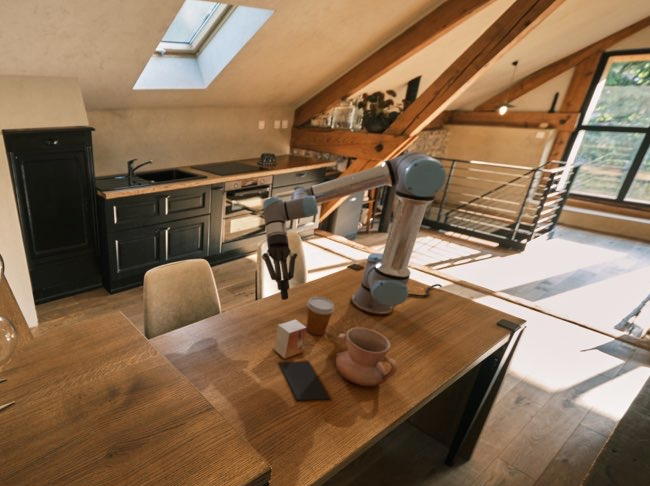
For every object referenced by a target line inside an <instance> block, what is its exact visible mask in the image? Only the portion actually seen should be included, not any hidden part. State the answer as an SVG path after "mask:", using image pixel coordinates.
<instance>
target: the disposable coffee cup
mask: <svg viewBox="0 0 650 486" xmlns="http://www.w3.org/2000/svg"><path fill="white" fill-rule="evenodd" d="M306 302H307V303H306V305H307V316H306V317H307V318H306V327H307V329H306V331H307V332H309V333H310V334H312V335H315V336H323V335H324V334H325V332H326V330H327V327H328V324H329V321H330V319H331V317H332V315H333V313H334V311H335V305H334V303H333V302H332V301H331V300H330V299H328V298H325V297H321V296H312V297H311V298H309V300H308V301H306Z"/></svg>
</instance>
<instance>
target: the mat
mask: <svg viewBox="0 0 650 486" xmlns="http://www.w3.org/2000/svg"><path fill="white" fill-rule="evenodd" d="M278 364H279V366H280V368H281V370H282V372H283V374H284V376H285V379H286V381H287V383H288V385H289V388H290V389H291V391H292V393H293V395H294V397H295V400H296V401H319V400H320V401H321V400H331V398H330V396H329V394H328V392H327V390H326V389H325V387H324V386H323V384H322V382H321V380H320V379H319V377H318V375H317V373H316V372H315V370H314V368H313V367H312V365H311V363H310V362H309V361H294V362H293V361H292V362H291V361H288V362H279V363H278Z"/></svg>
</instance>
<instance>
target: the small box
mask: <svg viewBox="0 0 650 486" xmlns="http://www.w3.org/2000/svg"><path fill="white" fill-rule="evenodd" d="M306 333H307V326H306V325H304V324H303V323H301V322H300V321H299V320H297V319H293V320H290V321H287V322H283V323H280V324H277V330H276V335H275V341H274V347H273V351H275V352H276V353H277V354H278V355H280V356H281V357H282V358H283V359H288V358H290V357H293V356H296V355H300V354H301V353H303V348H304V344H305V338H306Z"/></svg>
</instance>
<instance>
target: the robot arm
mask: <svg viewBox="0 0 650 486" xmlns="http://www.w3.org/2000/svg"><path fill="white" fill-rule="evenodd" d="M446 181H447V171H446V169H445V166H444V165H443V164H442V163H441V162H440V161H439V160H438V159H436V158H434V157H431V156H430V155H429V154H427V153H424V152H419V151H418V152H417V151H416V152H409V153H405V154H401V155H398V156H396V157H392V158H391V159H387V160H384V161H382V163H381V164H380V165H376V166H374V167H370V168H367V169H364V170H361V171H358V172H353V173H351V174H348V175H344V176H340V177H338V178H335V179H331V180H328V181H325V182H321V183H319V184H315V185H312V186H308V187H297V188H296V189H295V190H294V191H293V193H292V194H291V199H289V200H283V199H282V197H279V196H275V197H274V196H271V197H268V198H266V199H265V200H264V201H263V203H262V205H263V206H262V207H263V220H264V225H265V235H266V244H267V250H266V252H263V254H262V255H261V258H262V259H263V261H264V263H265V265H266V268H267V271H268V274H269V277H270V279H271V280H272V281H275V282H276V284H277V285H276V286H277V290H278V291H280V298H281V300H282V301H285V300H288V299H289V292H288V291H289V290H290V281H291V280H292V279H293V278H294V276H295V275H294V274H295V266H296V265H295V264H296V259H297V257H298V253H294V252H292V250H291V249H290V246H289V245H290V244H289V237H288V230H287V223H286V222H289V221H295V220H299V219H305V218H310V217H313V216H317V215H318V214H319V209H318V205H319V204H323V203H327V202H331V201H334V200H337V199H341V198H344V197H348V196H352V195H355V194H359V193H363V192H366V191H370V190H373V189H377V188H380V187H383V186H388V187H394V186H396V189H395V193H394V195H395V196H396V198H397V203H396V206H395V211H394V214H393V217H392V221H391V225H390V228H389V232H388V235H387V239H386V243H385V246H384V249H383V253H380V252H378V253H376V252H375V253H370V254H369V255H368V256H367V259H366V263H365V267H364V271H363V276H362V278H361V283H360V286H359V287H358V289H357V291H356V292H355V293H353V295H352V296H351V297H352V300H351V303H352V304H353V306H354V307H355V308H356V309H358V310H359V311H362V312H364V313H366V314H370V315H374V316H388V315H390V314H391V313H392V312H393V308H394V307H396V306H398V305H402V304H403V303H404V302H405V301H406V300H407V298H408V296H410V297H411V296H412V297H418V298H420V297H421V298H422V297H423V298H424V297H429V295H430V289H433V288H435V287H439V288H443V285H441V284H440V283H436V284H432V285H430V286H428V287H427V289H426V294H418V293H417V294H416V293H409V288H408V282H409V279H410V277H411V270H410V269H409V268H408V266H409V263H410V260H411V257H412V254H413V250H414V247H415V244H416V241H417V238H418V235H419V231H420V230H421V229H420V228H421V225H422V222H423V219H424V216H425V213H426V209H427V207H428V204H430V203H433V202H434V201H435V198H436V196H437V193H438V192H440V191H441V190H442V189H443V187H444V186H445V184H446ZM288 258H289V263H288ZM271 259H272V260H273V262H272V260H271ZM288 264H289V265H288ZM430 287H431V288H430Z"/></svg>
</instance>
